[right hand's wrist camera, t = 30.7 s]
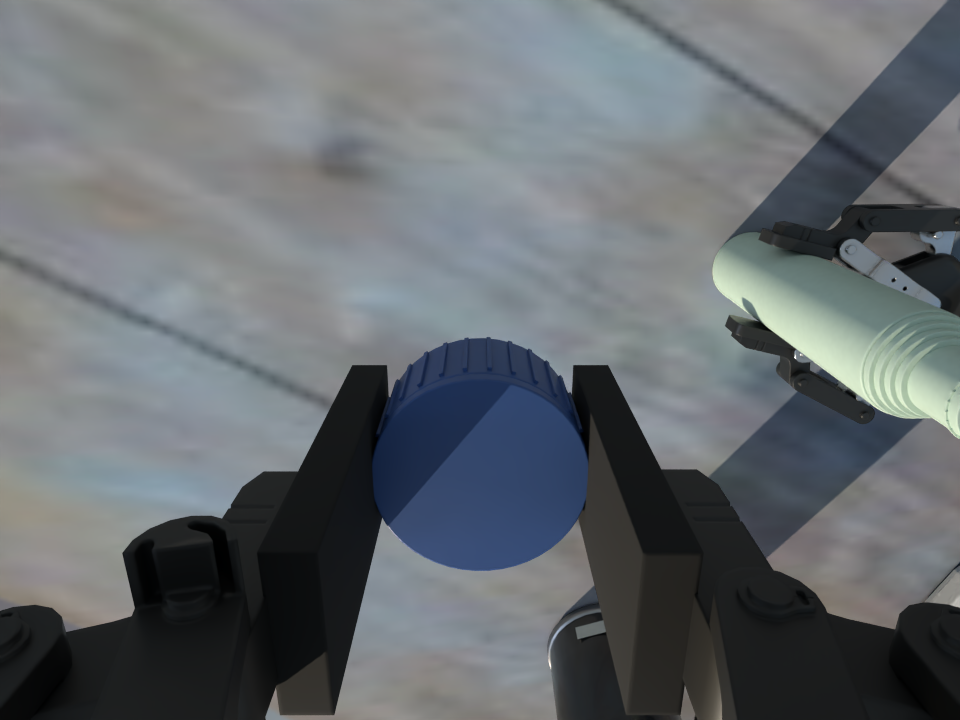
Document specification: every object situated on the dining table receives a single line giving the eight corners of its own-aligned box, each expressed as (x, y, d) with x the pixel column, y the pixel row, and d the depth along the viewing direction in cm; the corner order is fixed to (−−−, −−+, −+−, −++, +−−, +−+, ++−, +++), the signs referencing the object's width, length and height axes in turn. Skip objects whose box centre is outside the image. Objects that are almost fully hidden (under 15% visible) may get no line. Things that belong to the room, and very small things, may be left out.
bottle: (797, 252, 45) (1100, 385, 23) (754, 312, 46) (1000, 490, 24) (739, 219, 44) (996, 323, 22) (698, 280, 46) (901, 435, 24)
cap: (350, 451, 15) (326, 510, 13) (448, 297, 14) (442, 332, 11) (507, 537, 16) (511, 606, 13) (614, 398, 14) (639, 450, 12)
